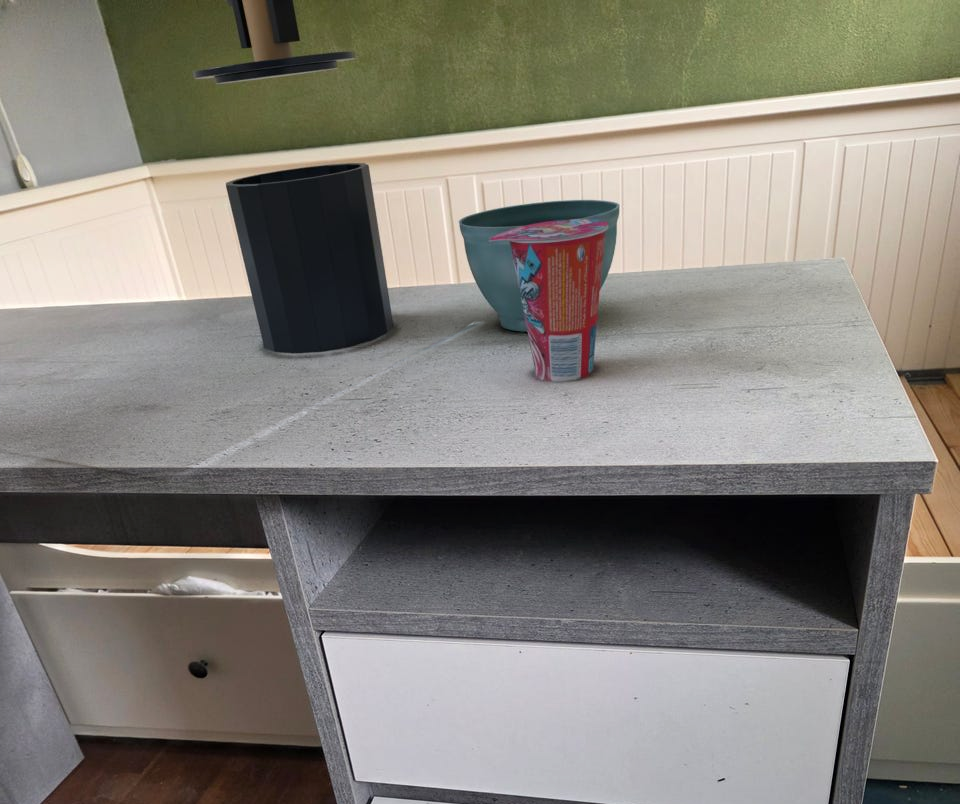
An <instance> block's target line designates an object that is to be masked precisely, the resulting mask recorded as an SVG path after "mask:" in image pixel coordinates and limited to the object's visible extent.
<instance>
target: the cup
mask: <svg viewBox="0 0 960 804" xmlns="http://www.w3.org/2000/svg"><path fill="white" fill-rule="evenodd" d="M607 229H608V222H606V221H603V220H596V219H572V220H558V221H549V222H542V223H536V224H530V225H526V226H522V227H518V228H515V229H512V230H509V231H506V232H503V233H500V234H498V235H495V236H493V237H492V238H490V239H489V241H496V240H509V241H510V246H511V251H512V256H513V261H514V266H515V271H516V276H517V281H518V286H519V291H520V296H521V301H522V306H523V311H524V316H525V321H526V326H527V331H528V332H527V336H528V342H529V346H530V352H531V357H532V363H533V365H534V366H533V368H534V372H535V377H536V378H538V379H539V380H542V381H546V382H556V383H557V382H570V381H575V380H579V379H583V378H586V377H588V376H590V375H591V374H592V373H593V372H594V361H595V351H596V337H597V327H598V315H599V303H600V294H601V293H600V292H601V290H600V282H601V273H602V263H603V253H604V242H605V232H606V230H607Z"/></svg>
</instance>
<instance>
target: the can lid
mask: <svg viewBox="0 0 960 804" xmlns="http://www.w3.org/2000/svg"><path fill="white" fill-rule="evenodd" d="M242 2H243V7H244V11H245V16H246V21H247V26H248V31H249V35H250V40H251V45H252V48H251V49H252V54H253V60H254V61H251V62H243V63H235V64H234V63H233V64H229V65H228V64H227V65H221V66H216V67H215V66H214V67H208V68H202V69H196V70H194V71H192V74H193V78H194V80H203V79H204V80H205V79H214V84H215V85H221V84H223V85H224V84H231V83H239V82H248V81H257V80H264V79H272V78H281V77H289V76H294V75H295V76H296V75H302V74H303V75H304V74H310V73H317V72H326V71H332V70H337V69H339V66H338V63H339V62H346V61H351V60H355V59H356V54H355V51H354V50H345V51H334V52H324V53H323V52H322V53H316V54H315V53H314V54H307V55H306V54H305V55H297V56H293V52H292V46H291V42H284V43H275V41H274V36H273V31H272V26H271V21H270V16H269V11H268V6H267V1H266V0H242Z"/></svg>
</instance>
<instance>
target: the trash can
mask: <svg viewBox="0 0 960 804" xmlns="http://www.w3.org/2000/svg"><path fill="white" fill-rule="evenodd" d="M371 177H372V176H371V172H370V165H369V164H367V163H366V162H345V163H333V164H332V163H329V164H321V165H312V166H303V167H297V168H289V169H282V170H275V171H269V172H264V173H258V174H253V175H249V176H244V177H240V178H236V179H232V180H229V181H227V182H226V183H225V188H226V192H227V196H228V201H229V204H230V209H231V213H232V218H233V221H234V227H235V230H236V235H237V238H238V244H239V247H240V252H241V256H242V260H243V264H244V268H245V273H246V276H247V282H248V286H249V289H250V294H251V298H252V302H253V303H252V304H253V308H254V311H255V314H256V319H257V324H258V327H259V332H260V336H261V340H262V344H263V345H262V346H263V349H266V350H268V351H271V352H273V353H280V354H292V355H293V354H296V355H297V354H312V353H313V354H314V353H324V352H329V351H335V350H340V349H347V348H351V347H354V346H358V345H362V344H365V343H369V342H373V341H374V340H377V339H379V338H381V337H383V336H385V335H387V334H388V333H389V332H390V331H391V330H392V329H393V328H394V320H393V319H394V318H393V312H392V307H391V300H390V293H389V287H388V281H387V276H386V275H387V274H386V268H385V262H384V256H383V250H382V249H383V248H382V242H381V237H380V229H379V224H378V223H379V222H378V217H377V210H376V204H375V197H374V191H373V185H372V178H371Z"/></svg>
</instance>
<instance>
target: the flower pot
mask: <svg viewBox="0 0 960 804" xmlns="http://www.w3.org/2000/svg"><path fill="white" fill-rule="evenodd" d="M620 207H621V205H620V203H619V202H615V201H611V200H610V201H609V200H600V199H570V200H569V199H568V200H551V201H542V202H531V203H525V204H515V205H510V206H503V207H497V208H492V209H488V210H484V211H480V212H476V213H473V214H469V215H467V216H464V217H462V218H460V219H459V220H458V226H459V231H460V234H461V236H462V238H463V245H464V251H465V255H466V259H467V263H468V266H469V269H470V272H471V275H472V277H473V279H474V282H475V284H476V286H477V287H478V290H479V291H480V293H481V294H482V296H483V298H484V299H485V300H486V302H487V303H488V304H489V305H490V307H491V308H492V309H493V310H494V311H495V312H496V313H497V316H498V320H499V324H500V326H501V327H502V328H504V329H505V330H508V331H515V332H522V333H523V332H524V333H526V332H527V333H528V331H527V326H526V321H525V316H524V311H523V306H522V301H521V296H520V291H519V286H518V281H517V276H516V271H515V266H514V261H513V256H512V251H511V246H510V241H509V240H496V241H489V239H490V238H492V237H493V236H495V235H498V234H500V233H503V232H506V231H509V230H512V229H515V228H518V227H522V226H526V225H530V224H536V223H542V222H549V221H558V220H572V219H596V220H603V221H606V222H608V229H607V230H606V232H605V242H604V253H603V263H602V273H601V282H600V291H601V290H602V287H604V284H605V282H606V280H607V278H608V275H609V272H610V269H611V267H612V263H613V260H614V256H615V250H616V246H617V236H618V235H617V234H618V221H619V220H618V219H619V216H620Z"/></svg>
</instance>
